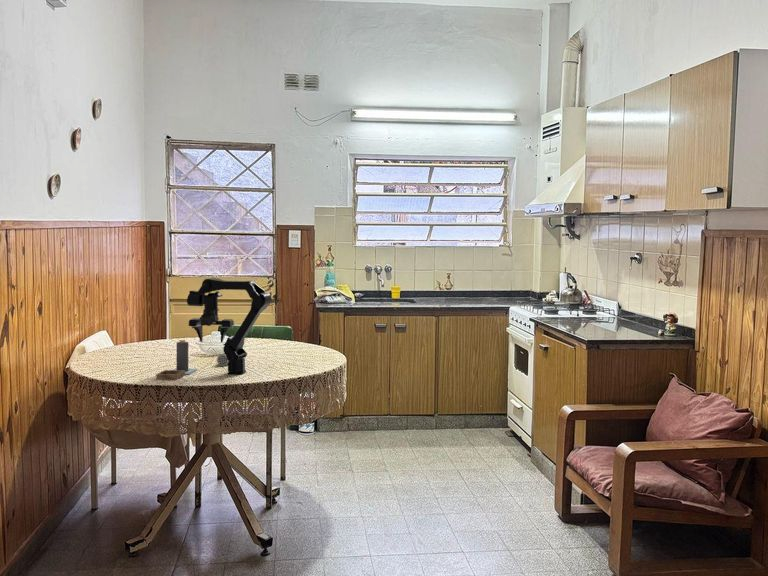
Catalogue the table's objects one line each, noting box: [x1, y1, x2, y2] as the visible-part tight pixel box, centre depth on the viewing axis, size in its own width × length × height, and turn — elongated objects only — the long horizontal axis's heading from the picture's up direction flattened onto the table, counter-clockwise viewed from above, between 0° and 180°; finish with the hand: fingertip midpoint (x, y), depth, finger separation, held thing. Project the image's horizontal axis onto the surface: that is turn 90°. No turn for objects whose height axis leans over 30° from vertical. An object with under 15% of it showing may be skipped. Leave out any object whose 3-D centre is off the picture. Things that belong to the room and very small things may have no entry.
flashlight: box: [216, 352, 229, 367], centre depth 332 cm, size 15×5×5 cm, turn 171°
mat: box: [173, 368, 198, 376], centre depth 310 cm, size 10×10×1 cm
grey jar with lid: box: [176, 339, 189, 372], centre depth 309 cm, size 5×5×14 cm
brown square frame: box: [155, 369, 186, 381], centre depth 300 cm, size 9×9×2 cm
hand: (211, 342), depth 312 cm, fingers open, 9 cm apart
